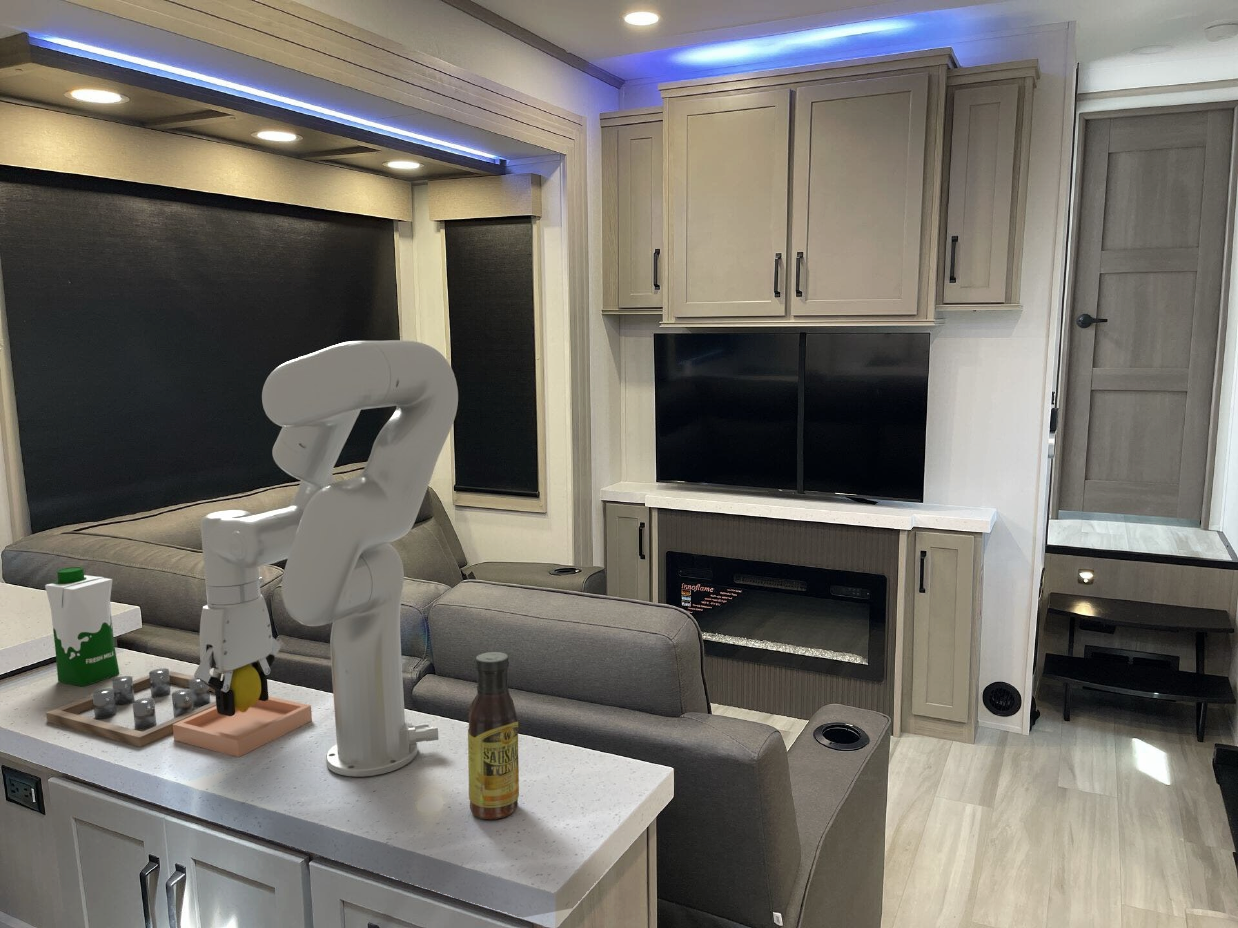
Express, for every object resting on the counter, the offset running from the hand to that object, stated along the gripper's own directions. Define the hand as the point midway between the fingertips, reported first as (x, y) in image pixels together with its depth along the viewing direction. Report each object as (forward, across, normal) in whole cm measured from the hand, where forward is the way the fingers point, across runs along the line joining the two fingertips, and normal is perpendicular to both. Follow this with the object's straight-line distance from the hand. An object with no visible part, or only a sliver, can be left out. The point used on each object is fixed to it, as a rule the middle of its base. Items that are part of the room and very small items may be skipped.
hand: (243, 705), depth 139 cm
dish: (+4, 0, 0) cm, 4 cm away
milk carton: (+4, -5, -46) cm, 46 cm away
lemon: (+1, 0, 0) cm, 1 cm away
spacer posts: (+4, 0, -21) cm, 22 cm away
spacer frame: (+4, 0, -21) cm, 22 cm away
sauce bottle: (+4, +4, +49) cm, 50 cm away
